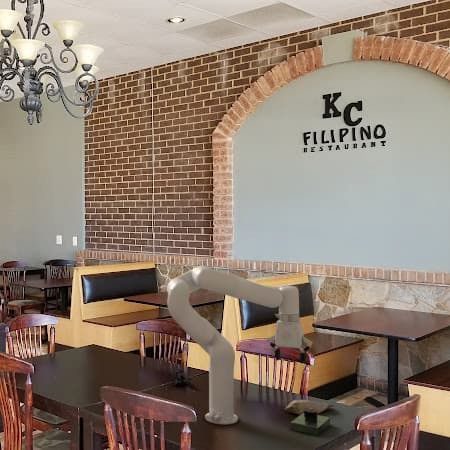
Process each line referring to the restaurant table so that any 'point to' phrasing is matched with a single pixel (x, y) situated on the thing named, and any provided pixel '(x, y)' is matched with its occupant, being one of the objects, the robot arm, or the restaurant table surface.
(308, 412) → the dial
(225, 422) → the robot arm
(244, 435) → the restaurant table surface
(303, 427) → the panel
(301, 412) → the stone
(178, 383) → the toy
